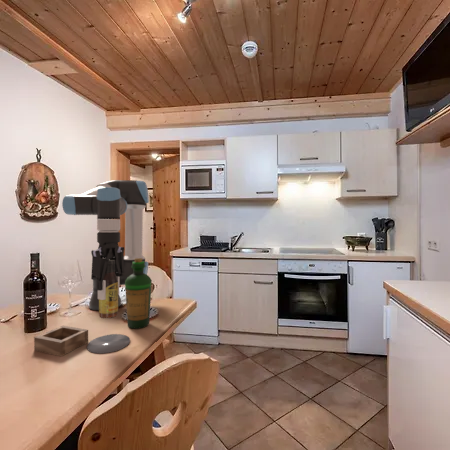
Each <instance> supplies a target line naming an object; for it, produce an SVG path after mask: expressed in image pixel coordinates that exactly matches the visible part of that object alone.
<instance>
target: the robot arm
mask: <svg viewBox="0 0 450 450" xmlns="http://www.w3.org/2000/svg"><path fill="white" fill-rule="evenodd" d="M61 202H62V203H61V204H62V205H61V207H62V210H63V213H65V215H70V216H96V219H97V221H96V224H97V225H96V227H97V228H96V230H97V232H96V239H97V240H96V243H98V248H97V249H92V250H91V251H90V252H91V253H90V254H91V257H92V260H91V262H92V263H91V278H90V279H91V280H92V294H91V297H90V300H89V301H88V303H89V304H88V308H89V309H90V310H93V311H99V299H100V300H105V299H106V280H104V276H105V271H106V267H107V263H108V261H109V260H115V275H116V277H117V280H118V308H119V307H120V306H121V305H122V298H121V296H120V286H125V280H126V279H127V277H129V276H130V275H131V274H133V268H132V263H133V262H134V261H135V260H134V259H135V258H142V261H144V263H145V267H144V272H143V273H145V274H146V275H148V271H149V262H148V261H146V257H145V256H144V254H143V229H144V228H143V223H144V222H143V221H144V220H143V218H144V217H143V214H144V213H143V210H144V209H146V208H147V204H149V202H150V197H149V189H148V186H147V183H146V181H144V180H137V179H136V180H127V179H126V180H125V179H122V180H121V179H113V180H109V181H108V180H107V181H105V182H102V183H101V182H100V183H99V184H97V185H95V187H94V188H92V189H90V190H87V191H86V192H84V193H83V192H82V193H81V194H69V195H64V197H63V198H62V201H61ZM121 215H125V216H124V218H125V219H124V220H125V223H124V224H125V226H124V228H125V229H124V230H125V231H124V246H120V245H119V243H120V242H121V232H120V231H121Z"/></svg>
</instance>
